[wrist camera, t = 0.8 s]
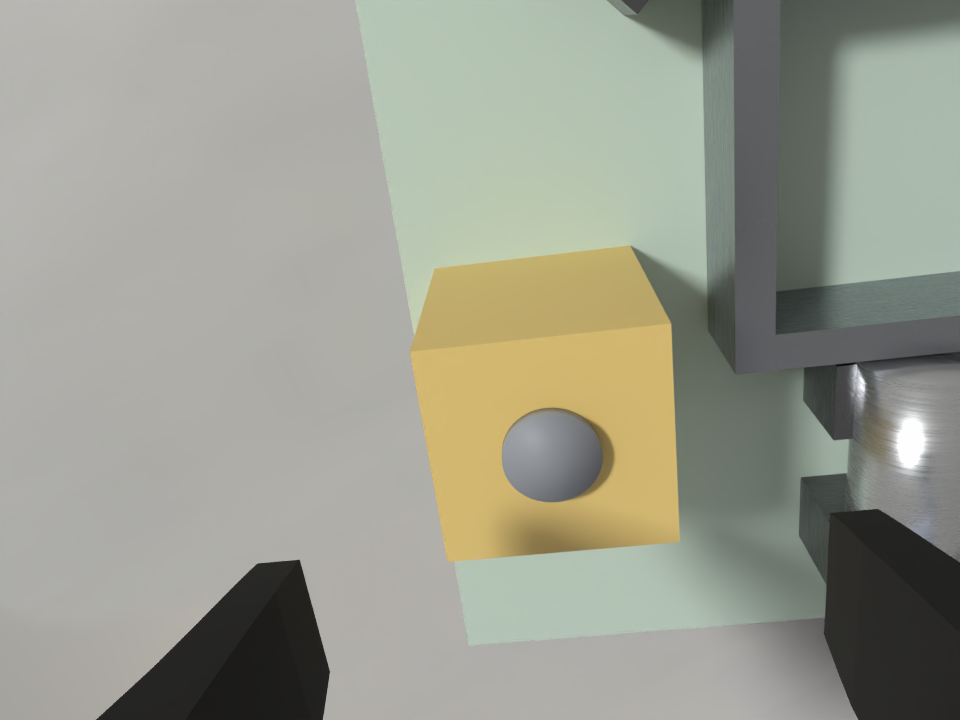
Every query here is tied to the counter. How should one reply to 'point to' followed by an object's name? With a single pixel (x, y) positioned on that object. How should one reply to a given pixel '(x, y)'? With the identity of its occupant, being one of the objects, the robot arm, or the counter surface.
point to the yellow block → (548, 405)
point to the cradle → (753, 228)
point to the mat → (668, 248)
